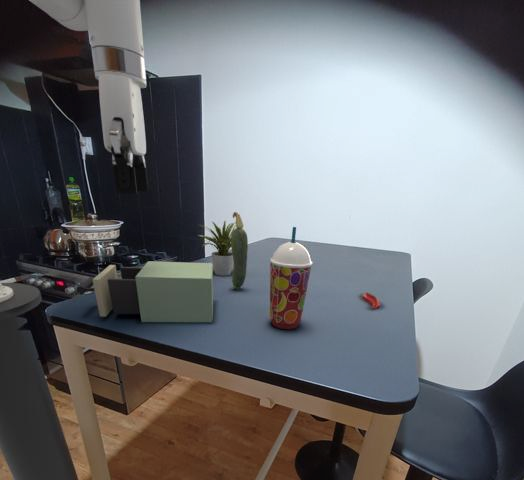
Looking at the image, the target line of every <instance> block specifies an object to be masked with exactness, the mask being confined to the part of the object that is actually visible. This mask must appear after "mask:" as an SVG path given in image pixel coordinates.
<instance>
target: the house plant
mask: <svg viewBox="0 0 524 480" xmlns="http://www.w3.org/2000/svg"><path fill="white" fill-rule="evenodd" d="M211 223H212V224H213V227H214V229H215V231H214V230H212V229H211V228H209V227H207V226H205V225H201V224H199V226H200V227H204V228H202V229H204V230H205V229H207V231H208V232H209V233H210V234H211V235H212V236H211V237H210V236H208V235H203V234H197V236H198V237H201V238H204V241H206V242H205V243H203V244H202V247H204V246H206V245H211V247H212V248H214V250H215V251H213V252H211V260H212V263H213V272H214V274H215V275H216V276H221V277H222V276H223V277H225V276H230V275H231V274H232V271H233V265H234V260H233V255H232V251H229V250H230V249H232V248H231V234H232V232H233V230H234V229H236V227H235V226H236V222H232V223H229V224H228V225H227V226H226V223H227V221H226V220H224V221H223V226H222V230H221V227H219V226H218V225H217V224H216V223H215V222H214V221H211ZM207 240H208V241H207Z"/></svg>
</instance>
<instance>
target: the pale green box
mask: <svg viewBox="0 0 524 480" xmlns="http://www.w3.org/2000/svg"><path fill="white" fill-rule="evenodd" d="M142 267H143V268H142V269H141V271H140V272H139V273H138V274H137V275H136V277H135V278H136V285H137V293H138V300H139V308H140V314H139V315H140V321H141V322H140V323H213V319H214V265H213V262H187V261H186V262H181V261H151V260H150V261H149V260H148V261H147V262H146V263H145V264H144V266H142Z"/></svg>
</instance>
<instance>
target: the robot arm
mask: <svg viewBox="0 0 524 480" xmlns="http://www.w3.org/2000/svg"><path fill="white" fill-rule="evenodd" d="M28 1H29V2H30V3H32V4H33V5H35V6H36V7H38V9H40V10H42V11H43V12H44V13H46V14H47V15H48V16H50V18H52V19H53V20H55V21H57V22H58V23H59V24H60V25H62V26H63V27H65V28H67V29H69V30H72V31H75V32H86V31H88V34H89V35H88V36H89V41H90V48H91V56H92V63H93V70H94V71H93V72H94V78H95V80H96V81H98V93H99V94H98V95H99V96H98V97H99V107H100V119H101V128H102V136H103V137H102V139H103V145H104V149H106V151H108V152H109V153H112V154H111V155H112V157H111V162H112V167H113V175H114V176H113V177H114V181H115V183H114V184H115V189H116V192H117V194H127V195H137V193H138V192H148V191H149V183H148V172H147V171H148V170H147V163H146V159H145V155H146V154H147V139H146V128H145V126H146V125H145V119H144V109H143V99H142V92H141V89H145V88H147V73H146V71H147V70H146V61H145V48H144V37H143V36H144V35H143V23H142V12H141V0H28ZM1 283H2V280H0V302H3V301H6V300H8V299H10V298H11V297H12V296H13V295H14V293H13V290H12V289H11V288H10V287H7V286H2V284H1Z"/></svg>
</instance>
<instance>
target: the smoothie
mask: <svg viewBox="0 0 524 480" xmlns="http://www.w3.org/2000/svg"><path fill="white" fill-rule="evenodd" d="M296 234H297V227H296V226H293V227H292V232H291V241H288V242H285V243H283V244H280V246H278V247H277V248H276V250H275V251H274V252H273V255H272V256H271V257H270V259H269V263H270V265H269V278H270V279H269V320H270V321H271V324H272V325H273V326H274V327H276V328H278V329H281V330H292V329H295V328H297V327H298V326H299V323H301V321H302V318H303V312H304V306H305V300H306V296H307V291H308V285H309V280H310V275H311V269H312V266H313V261H311V256H310V253H309V251H308V250H307V248H306V247H304V245H302V244H301V243H299V242H297V241H296V236H297V235H296Z"/></svg>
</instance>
